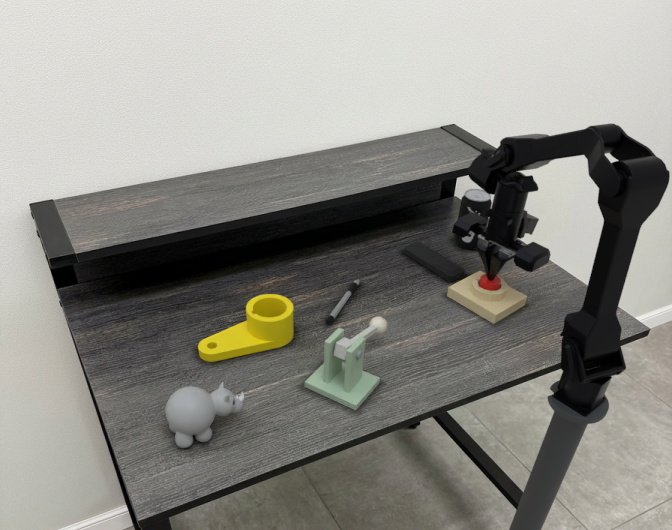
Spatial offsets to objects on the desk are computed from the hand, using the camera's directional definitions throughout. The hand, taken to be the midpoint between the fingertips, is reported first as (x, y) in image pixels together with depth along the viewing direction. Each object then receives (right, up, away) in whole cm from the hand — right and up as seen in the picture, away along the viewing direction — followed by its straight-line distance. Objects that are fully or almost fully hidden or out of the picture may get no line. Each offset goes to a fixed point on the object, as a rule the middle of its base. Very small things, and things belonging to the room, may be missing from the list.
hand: (490, 279), depth 123 cm
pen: (-29, -5, +1) cm, 29 cm away
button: (0, -1, +1) cm, 2 cm away
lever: (-26, -14, -17) cm, 34 cm away
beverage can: (0, +11, +21) cm, 23 cm away
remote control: (-9, +5, +13) cm, 17 cm away
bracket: (-29, -20, -17) cm, 40 cm away
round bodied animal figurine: (-50, -27, -26) cm, 62 cm away
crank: (-47, -13, -9) cm, 49 cm away
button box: (0, -4, +3) cm, 5 cm away
